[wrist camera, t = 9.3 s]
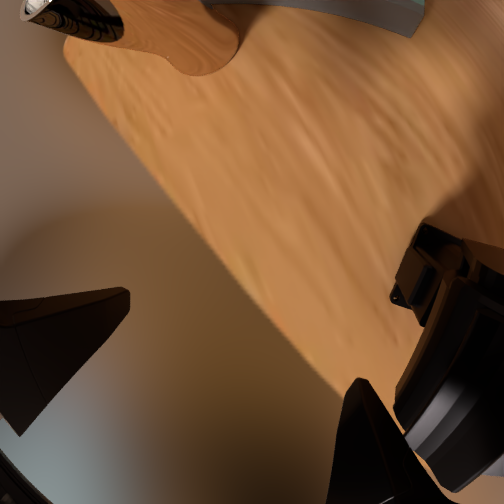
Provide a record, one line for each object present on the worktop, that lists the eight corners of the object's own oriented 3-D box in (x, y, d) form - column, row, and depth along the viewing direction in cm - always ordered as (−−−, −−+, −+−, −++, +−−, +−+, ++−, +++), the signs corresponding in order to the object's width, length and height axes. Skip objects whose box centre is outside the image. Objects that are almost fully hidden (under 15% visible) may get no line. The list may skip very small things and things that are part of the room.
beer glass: (176, 18, 16) (52, -51, 2) (252, 10, 15) (151, -109, 1) (160, 83, 19) (2, 45, 5) (238, 82, 17) (84, -17, 3)
